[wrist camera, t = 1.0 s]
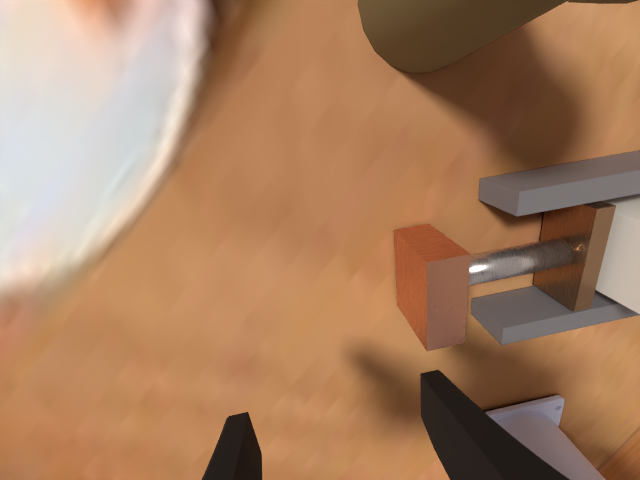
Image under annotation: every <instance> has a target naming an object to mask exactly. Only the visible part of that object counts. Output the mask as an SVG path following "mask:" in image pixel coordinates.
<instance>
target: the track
mask: <svg viewBox="0 0 640 480" xmlns="http://www.w3.org/2000/svg"><path fill="white" fill-rule="evenodd" d="M634 194H640V150H639V151H633V152H628V153H622V154H616V155H611V156H605V157H599V158H594V159H588V160H582V161H576V162H571V163H565V164H559V165H554V166H548V167H542V168H537V169H531V170H525V171H520V172H514V173H508V174H503V175H497V176H491V177H485V178H480V184H479V199H478V200H480V201H483V202H485V203H487V204H489V205H492V206H494V207H496V208H498V209H501V210H503V211H505V212H508V213H510V214H512V215H514V216H522V215H528V214H533V213H538V212H544V211H549V210H554V209H560V208H565V207H570V206H576V205H581V204H586V203H592V202H597V201H602V200H608V199H613V198H618V197H624V196H629V195H634ZM471 314H472V315H473V316H474V317H475V319H476V320H477V321H478V322H479V323H480V324H481V325H482V326H483V327H484V328H485V329H486V330H487V331H488V332H489V333H490V334H491V335H492V336H493V337H494V338H495V339H496V340H497V341H498V342H499V343H500V344H501V345H505V344H509V343H514V342H518V341H523V340H528V339H532V338H537V337H541V336H546V335H550V334H555V333H559V332H564V331H569V330H573V329H578V328H582V327H587V326H591V325H596V324H600V323H605V322H610V321H614V320H619V319H623V318H628V317H632V316H637V315H640V314H638V313H636V312H635V311H633V310H631V309H629V308H627V307H626V306H624V305H622V304H620V303H618V302H617V301H615V300H613V299H611V298H609V297H608V296H606V295H604V294H602V293H600V292H599V291H597V290H595V293H594V297H593V301H592V305H591V308H590V309H585V310H580V311H576V312H574V311H572V310H571V309H569V308H568V307H566V306H565V305H563V304H562V303H560V302H559V301H557V300H556V299H554V298H553V297H551V296H550V295H548V294H547V293H545V292H544V291H542V290H541V289H539V288H538V287H536V286H531V287H526V288H521V289H516V290H511V291H506V292H501V293H497V294H492V295H487V296H482V297H477V298H472V306H471Z"/></svg>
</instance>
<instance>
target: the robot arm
mask: <svg viewBox="0 0 640 480" xmlns="http://www.w3.org/2000/svg"><path fill="white" fill-rule="evenodd" d="M420 375H421V417H422V420H423V422H424V425H425V427H426V430H427V432H428V435H429V437H430V440H431V442H432V444H433V447H434V449H435V451H436V453H437V455H438V457H439V459H440V461H441V463H442V465H443V467H444V469H445V471H446V472H447V474H448V476H449V478H450V480H605V478H604V477H603V476H602V475H601V474H600V473H599V472H598V471H597V470H596V468H595V467H594V466H593V465H592V464H591V463H590V462H589V461H588V460H587V458H586V457H585V456H584V455H583V454H582V453H581V452H580V451H579V450H578V448H577V447H576V446H575V445H574V444H573V443H572V442H571V441H570V440H569V438H568V437H567V436H566V435H565V434H564V433H563V432H562V431H561V430H560V428H559V423H560V419H561V415H562V411H563V407H564V402H565V400H564V399H563V398H562V397H561V396H560V395H555V396H551V397H547V398H542V399H538V400H534V401H530V402H525V403H521V404H517V405H513V406H508V407H504V408H500V409H496V410H491V411H487V412H484V411H483V410H481V409H480V408H479V407H478V406H477V405H476V404H475V403H474V402H472V401H471V400H470V399H469V398H468V397H467V396H466V395H465V394H464V393H463V392H462V391H461V390H459V389H458V388H457V387H456V386H455V385H454V384H453V383H452V382H451V381H450V380H449V379H448V378H447V377H446V376H445V375H444V374H443V373H442V372H440V371H439V370H435V371H430V372H426V373H421V374H420ZM202 480H262V455H261V450H260V447H259V444H258V441H257V438H256V435H255V432H254V429H253V426H252V423H251V420H250V417H249V414H248V412H246V413H241V414H237V415H232V416H229V417H228V418H227V419H226V422H225V424H224V427H223V430H222V432H221V435H220V438H219V440H218V443H217V445H216V448H215V450H214V453H213V455H212V457H211V460H210V462H209V464H208V467H207V469H206V471H205V474H204V476H203V478H202Z"/></svg>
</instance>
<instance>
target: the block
mask: <svg viewBox="0 0 640 480" xmlns="http://www.w3.org/2000/svg"><path fill="white" fill-rule="evenodd" d="M602 202H606V203H609V204H613V205H616V209H615V213H614V217H613V221H612V225H611V229H610V233H609V237H608V241H607V245H606V249H605V253H604V257H603V261H602V265H601V269H600V273H599V277H598V281H597V285H596V289H595V290H597V291H599V292H600V293H602V294H604V295H606V296H608V297H609V298H611V299H613V300H615V301H617V302H618V303H620V304H622V305H624V306H626V307H627V308H629V309H631V310H633V311H635V312H636V313H638V314H640V194H634V195H629V196H624V197H618V198H613V199H608V200H602Z"/></svg>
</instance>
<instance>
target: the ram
mask: <svg viewBox="0 0 640 480" xmlns="http://www.w3.org/2000/svg"><path fill="white" fill-rule="evenodd" d="M615 209H616V205H613V204H609V203H606V202H602V201H597V202H592V203H586V204H581V205H576V206H570V207H565V208H560V209H554V210H549V211H544V217H543V224H542V230H541V236H540V241H539V242H534V243H529V244H524V245H519V246H514V247H509V248H503V249H498V250H493V251H488V252H483V253H478V254H473V255H470V254H469V253H468V252H467V251H465V250H464V249H462V248H461V247H460V246H458V245H457V244H456V243H454V242H453V241H452V240H450V239H449V238H447V237H446V236H445V235H443V234H442V233H441V232H439V231H438V230H436V229H435V228H434V227H432V226H431V225H430V224H425V225H419V226H414V227H408V228H403V229H398V230H394V244H395V265H396V286H397V306H398V307H399V309H400V310H401V312H402V313H403V315H404V316H405V318H406V320H407V321H408V323H409V324H410V326H411V327H412V329H413V331H414V332H415V334H416V335H417V337H418V338H419V340H420V341H421V343H422V345H423V346H424V348H425V349H426V351H430V350H435V349H439V348H444V347H449V346H453V345H458V344H463V343H465V333H466V316H467V300H468V286H470V285H475V284H480V283H485V282H490V281H494V280H499V279H504V278H509V277H514V276H519V275H524V274H529V273H534V272H535V275H534V282H533V285H535V286H536V287H538V288H539V289H541V290H542V291H544V292H545V293H547V294H548V295H550V296H551V297H553V298H554V299H556V300H557V301H559V302H560V303H562V304H563V305H565V306H566V307H568V308H569V309H571V310H572V311H574V312H576V311H580V310H585V309H590V308H591V305H592V301H593V297H594V293H595V289H596V285H597V281H598V277H599V273H600V269H601V265H602V261H603V257H604V253H605V249H606V245H607V241H608V237H609V233H610V229H611V225H612V221H613V217H614V213H615Z"/></svg>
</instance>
